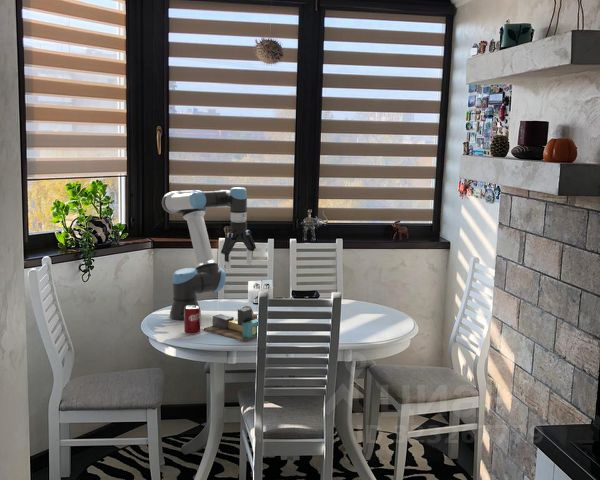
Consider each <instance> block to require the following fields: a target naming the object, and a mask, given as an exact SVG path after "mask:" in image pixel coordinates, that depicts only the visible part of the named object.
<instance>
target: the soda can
mask: <svg viewBox="0 0 600 480" xmlns="http://www.w3.org/2000/svg"><path fill="white" fill-rule="evenodd" d="M200 311H201V307H200V305H199V306H196V305H189V306H185V308H184V320H183V323H184V326H183V327H184V329H183V330H184V333H185V334H186V335H197V334H199V333H200V332H201V316H200Z"/></svg>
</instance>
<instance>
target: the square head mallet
mask: <svg viewBox="0 0 600 480" xmlns="http://www.w3.org/2000/svg"><path fill="white" fill-rule="evenodd" d="M252 311H253V309H249V308H243V307H242V308H239V309H237V320H235V319H234V320H231V319H230V320H226V322H227V328H230V329H233V330H237V331H240V332H242V323H244V322H248V321H251V320H252ZM256 333H257V326H255V327H252V334H256Z"/></svg>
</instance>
